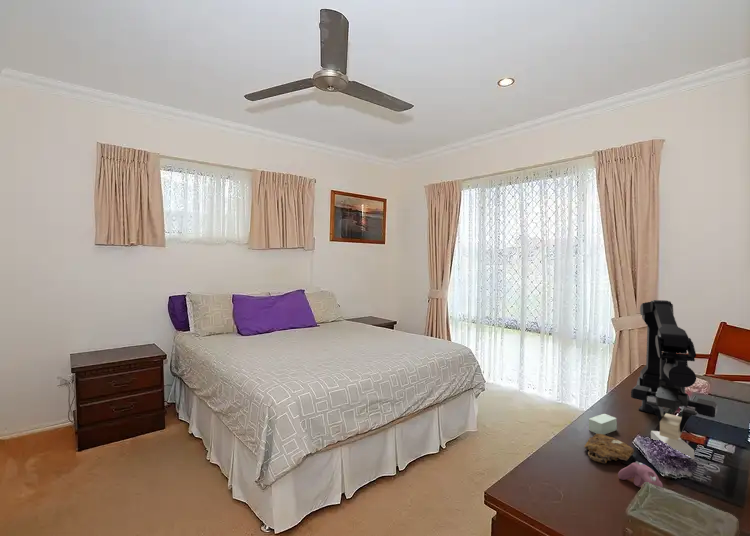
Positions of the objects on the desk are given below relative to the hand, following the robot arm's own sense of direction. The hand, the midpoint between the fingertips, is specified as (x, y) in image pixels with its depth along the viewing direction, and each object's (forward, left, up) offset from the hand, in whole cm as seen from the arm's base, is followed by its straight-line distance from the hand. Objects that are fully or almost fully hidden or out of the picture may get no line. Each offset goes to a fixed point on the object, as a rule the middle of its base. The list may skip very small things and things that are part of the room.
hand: (671, 428), depth 104 cm
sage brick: (+2, -17, -6) cm, 18 cm away
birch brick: (0, 0, -1) cm, 1 cm away
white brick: (0, 0, -6) cm, 6 cm away
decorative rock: (+17, -11, -6) cm, 22 cm away
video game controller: (+29, -1, -6) cm, 30 cm away
